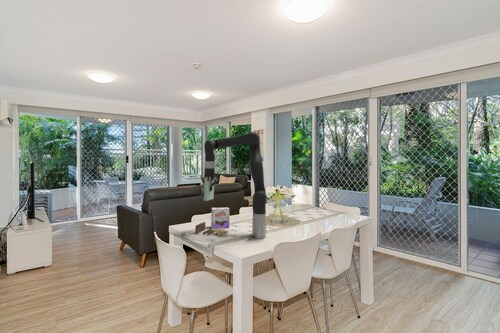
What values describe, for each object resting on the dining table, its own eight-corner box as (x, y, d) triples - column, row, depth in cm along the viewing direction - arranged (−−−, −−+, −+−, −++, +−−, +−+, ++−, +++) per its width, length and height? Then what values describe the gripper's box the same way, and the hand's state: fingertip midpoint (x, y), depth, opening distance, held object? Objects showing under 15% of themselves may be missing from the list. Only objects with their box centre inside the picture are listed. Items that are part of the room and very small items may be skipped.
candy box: (211, 230, 215) (211, 208, 215) (210, 228, 221) (211, 207, 220) (229, 229, 218) (229, 208, 217) (228, 227, 224) (228, 207, 223)
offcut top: (218, 230, 206) (218, 228, 205) (228, 233, 199) (228, 230, 199) (213, 231, 202) (213, 229, 202) (223, 234, 195) (223, 232, 195)
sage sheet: (213, 198, 210) (214, 180, 210) (206, 200, 200) (207, 181, 200) (211, 198, 211) (211, 180, 211) (203, 200, 201) (204, 181, 200)
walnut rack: (216, 232, 209) (216, 223, 208) (207, 237, 197) (208, 227, 197) (203, 231, 212) (204, 221, 212) (195, 235, 201) (195, 225, 200)
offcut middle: (223, 232, 206) (223, 230, 206) (225, 236, 196) (225, 234, 196) (216, 233, 205) (216, 230, 205) (218, 237, 195) (218, 234, 195)
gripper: (220, 167, 206) (219, 191, 207) (203, 166, 210) (203, 189, 211) (215, 168, 199) (215, 192, 200) (198, 167, 203) (198, 191, 204)
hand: (209, 191), depth 205 cm, fingers closed on sage sheet, 2 cm apart
